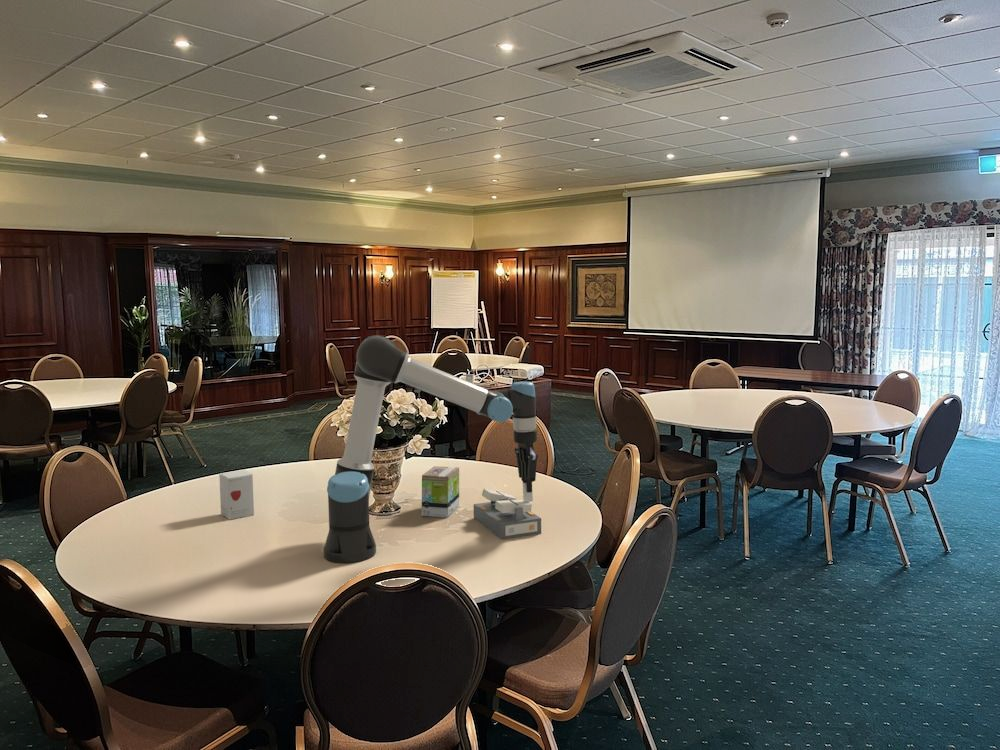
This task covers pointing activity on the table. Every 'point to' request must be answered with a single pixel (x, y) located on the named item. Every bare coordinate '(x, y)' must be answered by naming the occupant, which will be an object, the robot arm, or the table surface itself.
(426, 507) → the tea box
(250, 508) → the supplement box
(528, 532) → the switch unit
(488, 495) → the rocker
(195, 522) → the table surface
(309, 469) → the table surface
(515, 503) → the rocker
